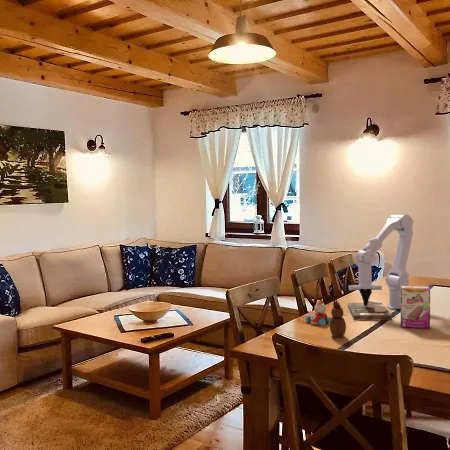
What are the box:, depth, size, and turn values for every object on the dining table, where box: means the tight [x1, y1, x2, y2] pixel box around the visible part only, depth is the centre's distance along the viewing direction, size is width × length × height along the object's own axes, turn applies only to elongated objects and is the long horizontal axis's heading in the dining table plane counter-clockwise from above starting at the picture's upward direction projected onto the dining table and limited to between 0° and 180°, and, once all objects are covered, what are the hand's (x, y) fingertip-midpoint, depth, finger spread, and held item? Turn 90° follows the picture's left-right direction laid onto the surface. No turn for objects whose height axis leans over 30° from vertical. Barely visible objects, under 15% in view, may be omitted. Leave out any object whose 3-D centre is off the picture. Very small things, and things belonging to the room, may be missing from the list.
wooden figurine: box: [329, 296, 347, 338], centre depth 189 cm, size 7×6×15 cm
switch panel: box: [347, 302, 393, 321], centre depth 222 cm, size 16×24×2 cm, turn 172°
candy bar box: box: [400, 285, 431, 330], centre depth 197 cm, size 11×5×16 cm, turn 71°
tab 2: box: [374, 303, 386, 312], centre depth 217 cm, size 4×4×2 cm
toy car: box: [305, 299, 332, 327], centre depth 209 cm, size 9×9×10 cm
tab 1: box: [368, 299, 379, 308], centre depth 225 cm, size 4×4×2 cm
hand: (365, 305), depth 225 cm, fingers closed
